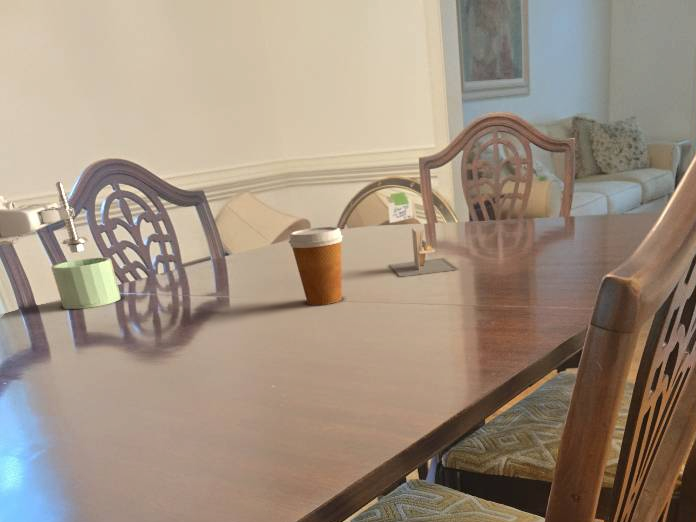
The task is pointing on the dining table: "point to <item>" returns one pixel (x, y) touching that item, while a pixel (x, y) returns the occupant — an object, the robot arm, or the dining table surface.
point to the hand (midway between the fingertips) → (71, 212)
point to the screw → (70, 223)
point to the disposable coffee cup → (319, 263)
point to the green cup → (86, 283)
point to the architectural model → (421, 259)
